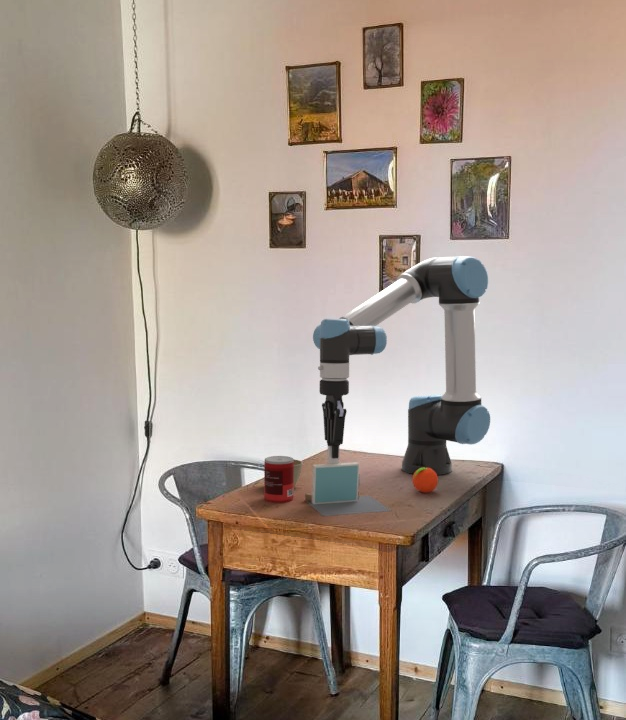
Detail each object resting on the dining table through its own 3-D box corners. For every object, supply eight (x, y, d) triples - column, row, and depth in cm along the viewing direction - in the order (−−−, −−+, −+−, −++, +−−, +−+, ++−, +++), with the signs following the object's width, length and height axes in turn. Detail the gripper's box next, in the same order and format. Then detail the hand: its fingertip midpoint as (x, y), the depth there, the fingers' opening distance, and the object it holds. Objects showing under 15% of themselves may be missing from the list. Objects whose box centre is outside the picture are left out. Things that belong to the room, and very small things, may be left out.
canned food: (291, 495, 222) (291, 455, 221) (295, 503, 214) (295, 461, 213) (262, 496, 220) (262, 456, 219) (266, 504, 212) (266, 462, 212)
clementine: (423, 497, 221) (424, 471, 220) (404, 492, 226) (404, 466, 225) (443, 492, 226) (443, 467, 226) (423, 488, 231) (424, 463, 231)
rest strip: (355, 497, 219) (355, 489, 219) (358, 499, 217) (358, 491, 217) (305, 500, 215) (305, 493, 215) (307, 502, 213) (307, 495, 213)
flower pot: (268, 483, 236) (268, 458, 235) (303, 483, 236) (303, 458, 235) (264, 491, 226) (264, 465, 226) (301, 492, 226) (301, 466, 225)
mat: (368, 496, 221) (368, 495, 221) (392, 511, 206) (392, 510, 206) (304, 501, 216) (304, 500, 216) (323, 517, 201) (323, 516, 201)
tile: (355, 499, 217) (357, 462, 215) (357, 501, 215) (359, 464, 213) (311, 502, 213) (312, 464, 212) (313, 504, 212) (314, 466, 210)
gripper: (312, 376, 218) (312, 465, 219) (328, 382, 205) (327, 476, 207) (340, 376, 220) (339, 464, 222) (356, 381, 207) (355, 474, 209)
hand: (333, 469), depth 214 cm, fingers closed
